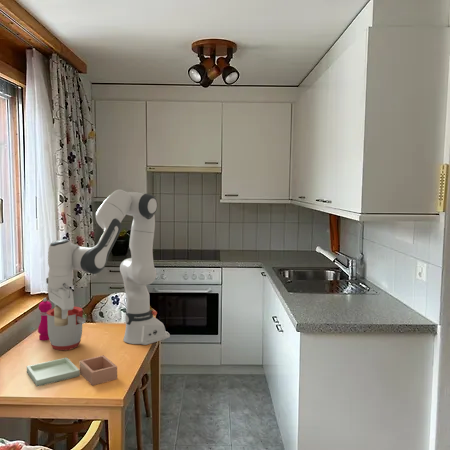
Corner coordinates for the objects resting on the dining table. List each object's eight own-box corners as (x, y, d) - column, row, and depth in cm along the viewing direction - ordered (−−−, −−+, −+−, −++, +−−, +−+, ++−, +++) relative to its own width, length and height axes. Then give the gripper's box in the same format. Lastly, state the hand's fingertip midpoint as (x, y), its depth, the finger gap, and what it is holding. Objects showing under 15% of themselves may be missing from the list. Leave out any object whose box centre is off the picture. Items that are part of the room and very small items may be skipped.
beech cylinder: (65, 321, 181) (65, 304, 180) (69, 324, 177) (69, 307, 176) (52, 323, 178) (52, 306, 177) (56, 327, 174) (56, 309, 173)
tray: (67, 362, 191) (66, 357, 191) (79, 376, 178) (79, 370, 178) (26, 372, 182) (26, 366, 181) (37, 386, 169) (36, 380, 168)
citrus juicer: (76, 354, 201) (75, 310, 199) (40, 351, 204) (39, 308, 202) (92, 342, 216) (91, 300, 214) (59, 339, 219) (57, 299, 217)
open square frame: (103, 366, 187) (103, 355, 186) (117, 378, 176) (117, 366, 175) (79, 372, 181) (79, 360, 181) (92, 385, 170) (91, 372, 169)
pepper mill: (57, 336, 223) (56, 296, 221) (48, 341, 216) (46, 300, 214) (44, 335, 225) (43, 295, 223) (35, 340, 218) (33, 299, 216)
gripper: (77, 285, 169) (78, 321, 171) (60, 276, 186) (61, 309, 187) (60, 287, 166) (61, 324, 167) (44, 278, 182) (45, 311, 183)
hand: (61, 316), depth 177 cm, fingers closed on beech cylinder, 5 cm apart
